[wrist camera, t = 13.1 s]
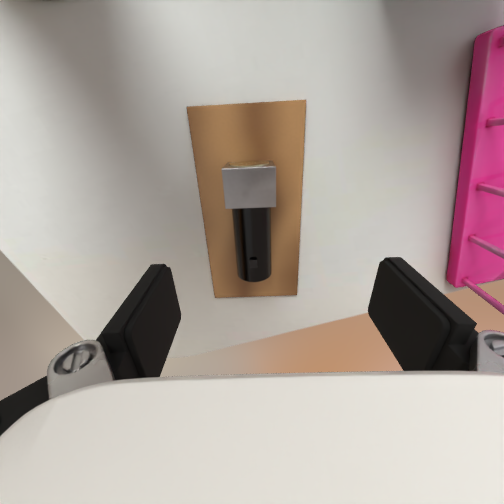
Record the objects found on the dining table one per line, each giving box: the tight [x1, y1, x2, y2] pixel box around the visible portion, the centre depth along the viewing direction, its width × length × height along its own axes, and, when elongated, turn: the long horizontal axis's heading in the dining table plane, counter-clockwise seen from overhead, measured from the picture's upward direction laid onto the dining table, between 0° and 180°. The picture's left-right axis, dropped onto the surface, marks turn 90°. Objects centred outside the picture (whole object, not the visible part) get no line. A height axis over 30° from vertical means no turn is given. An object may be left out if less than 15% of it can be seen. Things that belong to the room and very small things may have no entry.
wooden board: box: [187, 100, 306, 298], centre depth 27 cm, size 11×22×1 cm, turn 3°
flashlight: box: [222, 160, 276, 282], centre depth 25 cm, size 13×5×5 cm, turn 3°
